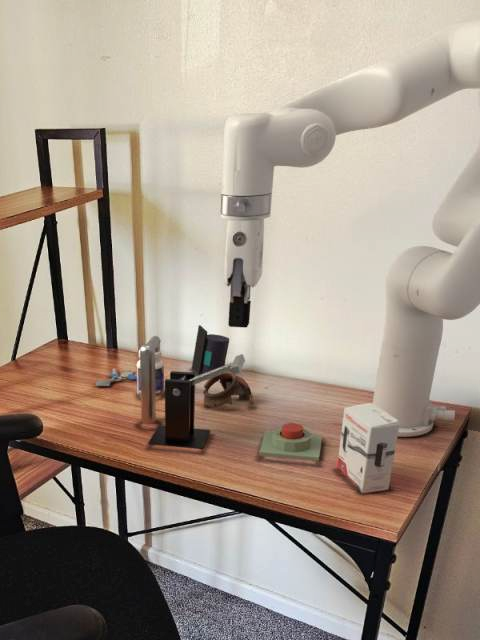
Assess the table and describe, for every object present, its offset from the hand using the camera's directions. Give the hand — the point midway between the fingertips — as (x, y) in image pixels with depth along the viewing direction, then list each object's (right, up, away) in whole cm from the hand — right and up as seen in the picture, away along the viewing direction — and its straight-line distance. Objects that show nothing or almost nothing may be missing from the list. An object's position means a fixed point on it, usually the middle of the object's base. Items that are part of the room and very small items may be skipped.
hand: (238, 325), depth 117 cm
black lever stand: (-8, -18, +15) cm, 24 cm away
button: (+11, -18, +7) cm, 22 cm away
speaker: (+3, +1, +45) cm, 45 cm away
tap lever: (-4, -8, +7) cm, 11 cm away
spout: (-13, -13, +23) cm, 29 cm away
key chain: (-19, 0, +45) cm, 49 cm away
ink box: (+20, -26, -1) cm, 33 cm away
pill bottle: (-12, -6, +35) cm, 37 cm away
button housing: (+11, -20, +9) cm, 25 cm away
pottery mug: (+4, -9, +28) cm, 30 cm away
